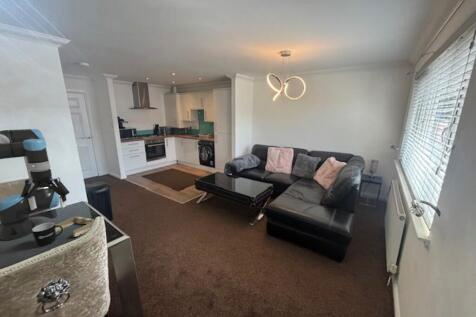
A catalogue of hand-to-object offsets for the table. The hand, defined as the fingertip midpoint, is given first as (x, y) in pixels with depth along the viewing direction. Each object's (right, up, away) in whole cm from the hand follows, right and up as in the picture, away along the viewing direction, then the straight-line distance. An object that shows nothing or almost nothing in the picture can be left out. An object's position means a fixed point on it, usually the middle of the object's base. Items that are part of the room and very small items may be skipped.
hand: (49, 208), depth 104 cm
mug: (-7, -21, +8) cm, 24 cm away
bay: (-2, -18, +20) cm, 27 cm away
